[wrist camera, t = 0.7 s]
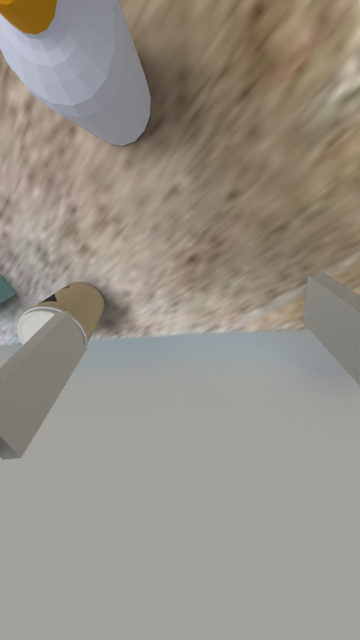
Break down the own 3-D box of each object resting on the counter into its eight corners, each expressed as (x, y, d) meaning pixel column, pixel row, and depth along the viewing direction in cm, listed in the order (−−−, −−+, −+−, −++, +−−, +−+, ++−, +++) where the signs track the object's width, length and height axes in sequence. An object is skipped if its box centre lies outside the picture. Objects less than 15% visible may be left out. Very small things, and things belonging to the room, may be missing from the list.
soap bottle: (161, 142, 29) (109, 35, 9) (91, 149, 30) (-112, 65, 9) (152, 44, 25) (4, -621, 4) (70, 55, 25) (-400, -492, 5)
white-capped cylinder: (70, 266, 38) (27, 296, 28) (118, 297, 41) (96, 334, 30) (49, 305, 42) (5, 344, 31) (95, 331, 45) (68, 374, 34)
